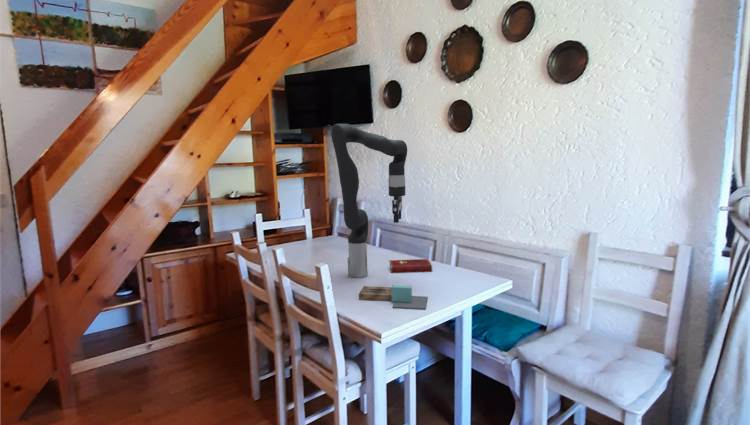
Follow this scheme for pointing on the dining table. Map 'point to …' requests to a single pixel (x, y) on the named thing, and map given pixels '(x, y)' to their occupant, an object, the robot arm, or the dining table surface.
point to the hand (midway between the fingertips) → (397, 220)
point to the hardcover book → (410, 266)
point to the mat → (413, 303)
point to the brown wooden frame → (375, 293)
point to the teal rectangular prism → (401, 293)
